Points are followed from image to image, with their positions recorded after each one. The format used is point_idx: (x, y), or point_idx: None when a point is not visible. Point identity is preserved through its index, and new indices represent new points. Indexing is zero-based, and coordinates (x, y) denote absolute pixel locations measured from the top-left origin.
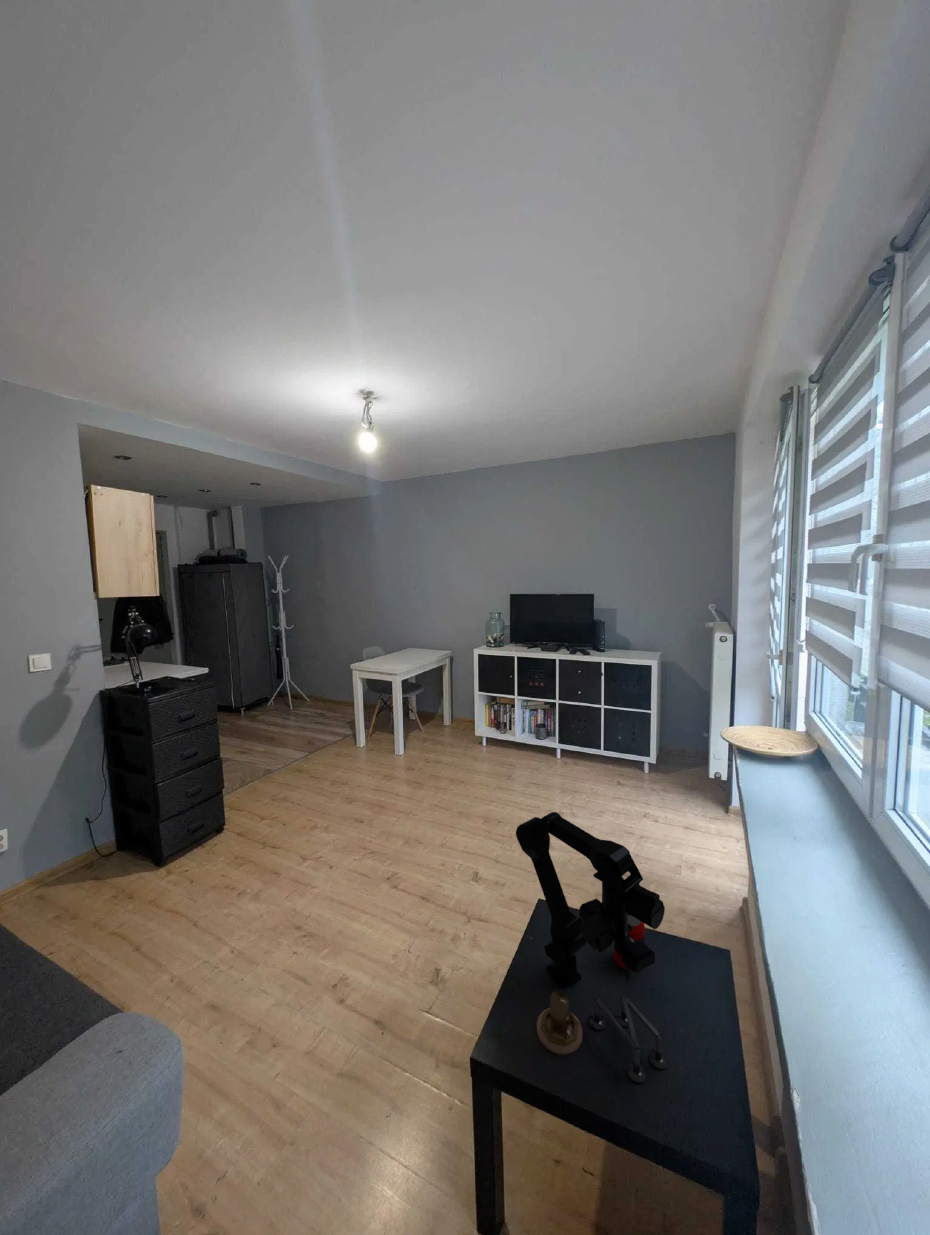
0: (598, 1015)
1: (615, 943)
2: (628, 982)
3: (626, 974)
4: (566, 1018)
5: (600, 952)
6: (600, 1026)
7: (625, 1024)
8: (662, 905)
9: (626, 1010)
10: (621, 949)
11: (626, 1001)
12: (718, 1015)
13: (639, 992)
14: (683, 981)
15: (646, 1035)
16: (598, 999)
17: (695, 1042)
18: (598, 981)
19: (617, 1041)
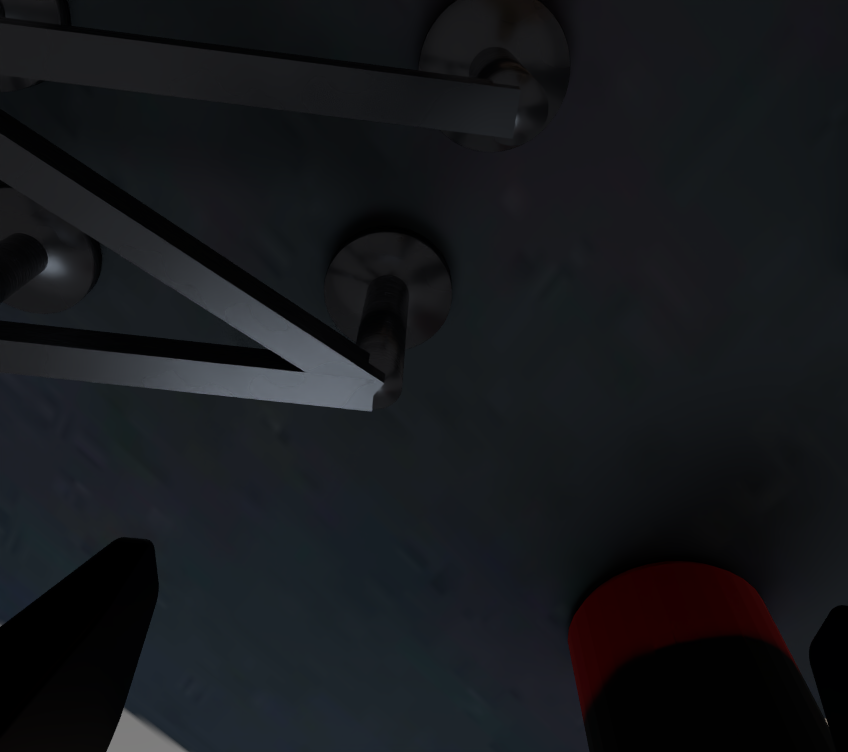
0: (475, 75)
1: (784, 692)
2: (105, 550)
3: (18, 671)
4: None
5: (831, 612)
6: (435, 52)
7: (338, 259)
8: None
9: (234, 292)
10: (713, 686)
11: (313, 369)
12: (151, 694)
13: (472, 517)
14: (376, 716)
15: (220, 325)
16: (505, 125)
17: (68, 516)
18: (723, 370)
19: None
